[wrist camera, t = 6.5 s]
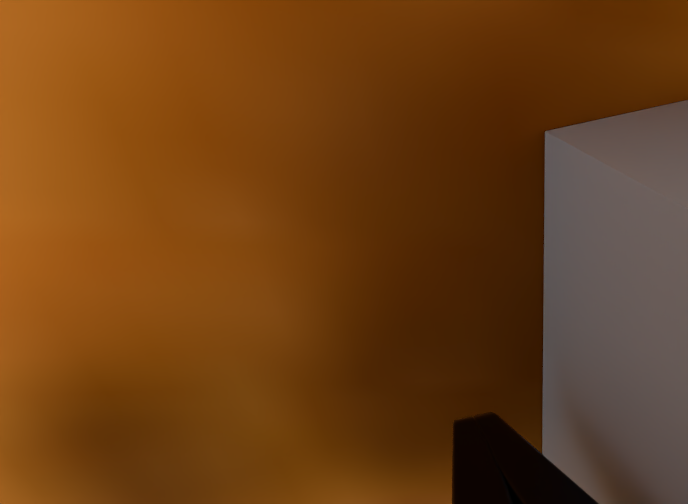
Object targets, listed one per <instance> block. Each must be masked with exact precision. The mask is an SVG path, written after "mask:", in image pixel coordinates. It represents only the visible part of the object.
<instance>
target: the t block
mask: <svg viewBox="0 0 688 504" xmlns="http://www.w3.org/2000/svg"><path fill="white" fill-rule="evenodd" d="M542 454H543V455H544V456H545V457H546V458H547V459H548V460H549V461H551V462H552V463H553V464H554V465H555V466H556V467H557V468H559V469H560V470H561V471H562V472H563V473H564V474H566V475H567V476H568V477H569V478H570V479H571V480H572V481H574V482H575V483H576V484H577V485H578V486H579V487H580V488H582V489H583V490H584V491H585V492H586V493H587V494H588V495H590V496H591V497H592V498H593V499H594V500H595V501H596V502H598V503H599V504H688V100H685V101H680V102H676V103H671V104H667V105H662V106H658V107H653V108H648V109H644V110H639V111H635V112H630V113H626V114H621V115H617V116H612V117H607V118H603V119H598V120H594V121H589V122H585V123H580V124H576V125H571V126H567V127H562V128H557V129H553V130H548V131H545V190H544V303H543V416H542Z"/></svg>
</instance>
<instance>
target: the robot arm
mask: <svg viewBox="0 0 688 504" xmlns="http://www.w3.org/2000/svg"><path fill="white" fill-rule="evenodd" d="M452 504H599V503H598V502H596V501H595V500H594V499H593V498H592V497H591V496H590V495H588V494H587V493H586V492H585V491H584V490H583V489H582V488H580V487H579V486H578V485H577V484H576V483H575V482H574V481H572V480H571V479H570V478H569V477H568V476H567V475H566V474H564V473H563V472H562V471H561V470H560V469H559V468H557V467H556V466H555V465H554V464H553V463H552V462H551V461H549V460H548V459H547V458H546V457H545V456H544V455H543V454H541V453H540V452H539V451H538V450H537V449H536V448H535V447H533V446H532V445H531V444H530V443H529V442H528V441H526V440H525V439H524V438H523V437H522V436H521V435H520V434H518V433H517V432H516V431H515V430H514V429H513V428H512V427H510V426H509V425H508V424H507V423H506V422H505V421H504V420H502V419H501V418H500V417H499V416H498V415H496V414H495V413H492V412H489V413H484V414H480V415H475V416H474V417H466V418H461V419H457V420H454V422H453V451H452Z"/></svg>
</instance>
